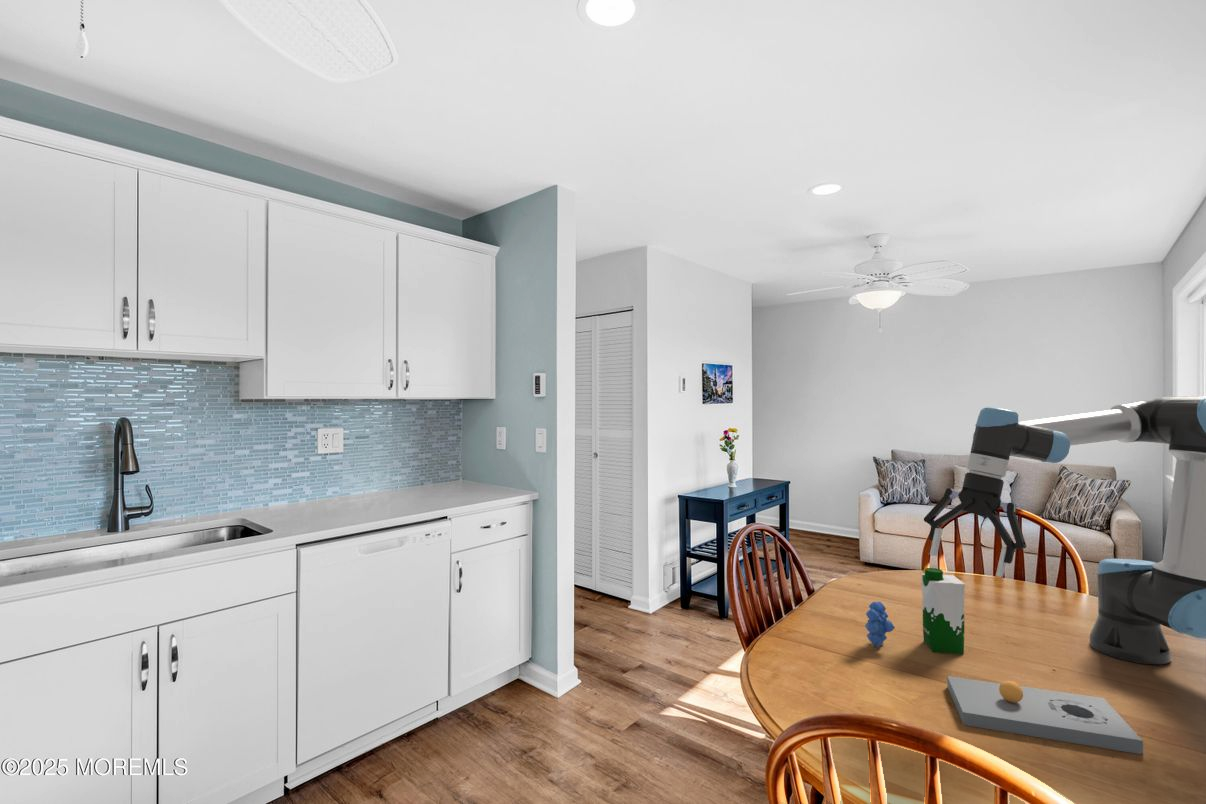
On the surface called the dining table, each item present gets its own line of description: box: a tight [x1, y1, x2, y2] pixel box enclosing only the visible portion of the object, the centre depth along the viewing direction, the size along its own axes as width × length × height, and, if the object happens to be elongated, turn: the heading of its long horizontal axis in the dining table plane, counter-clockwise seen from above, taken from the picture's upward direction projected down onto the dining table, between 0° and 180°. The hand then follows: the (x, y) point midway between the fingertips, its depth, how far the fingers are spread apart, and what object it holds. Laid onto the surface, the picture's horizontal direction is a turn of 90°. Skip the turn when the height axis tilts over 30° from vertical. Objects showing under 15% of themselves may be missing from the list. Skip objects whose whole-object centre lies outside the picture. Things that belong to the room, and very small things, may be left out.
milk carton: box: [920, 567, 966, 655], centre depth 150 cm, size 9×9×20 cm
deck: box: [946, 675, 1144, 755], centre depth 117 cm, size 28×16×2 cm, turn 69°
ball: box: [999, 680, 1023, 703], centre depth 118 cm, size 4×4×4 cm
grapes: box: [864, 601, 896, 648], centre depth 151 cm, size 12×7×12 cm, turn 139°
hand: (964, 565), depth 133 cm, fingers open, 13 cm apart
